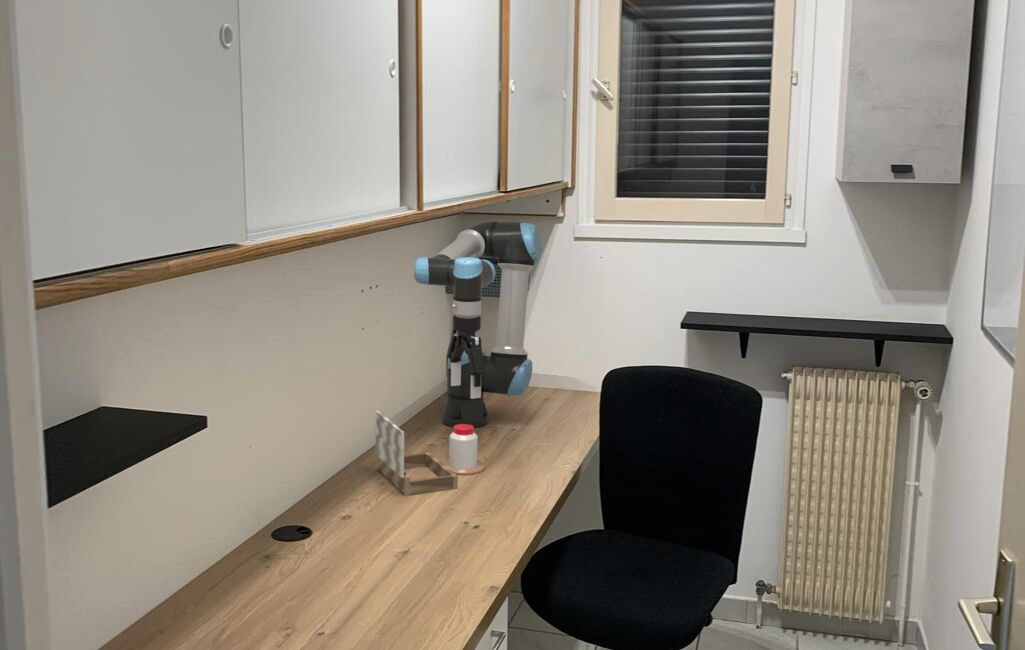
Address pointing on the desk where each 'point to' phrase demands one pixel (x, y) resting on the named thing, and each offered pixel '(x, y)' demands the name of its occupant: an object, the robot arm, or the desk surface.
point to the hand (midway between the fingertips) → (465, 391)
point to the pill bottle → (463, 447)
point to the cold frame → (408, 462)
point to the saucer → (477, 469)
